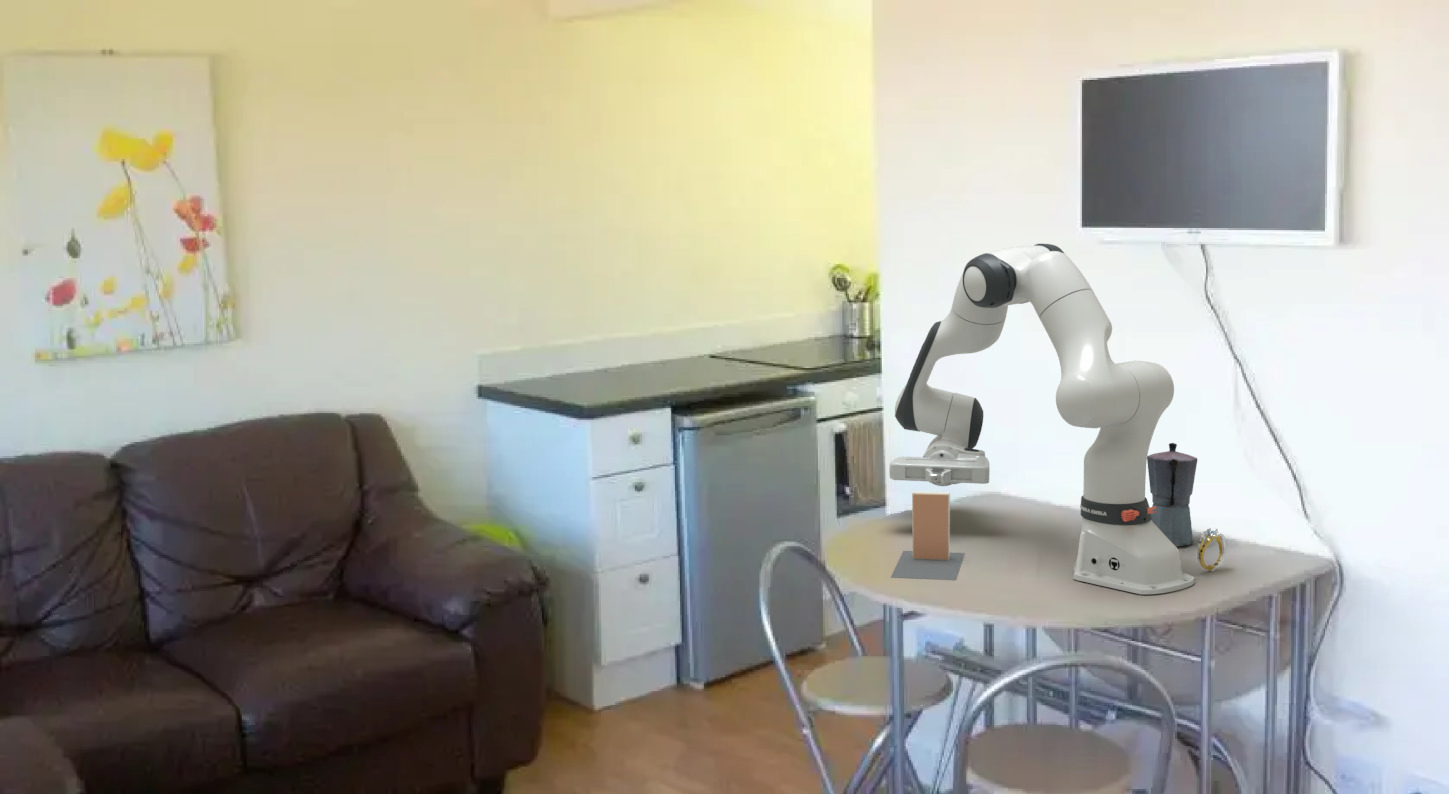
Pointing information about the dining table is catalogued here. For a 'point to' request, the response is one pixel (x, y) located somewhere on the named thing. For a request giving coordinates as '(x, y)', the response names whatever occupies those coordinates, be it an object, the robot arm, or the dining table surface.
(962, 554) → the mat
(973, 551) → the dining table surface
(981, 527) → the dining table surface
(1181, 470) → the moka pot
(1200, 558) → the ring
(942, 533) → the tile
